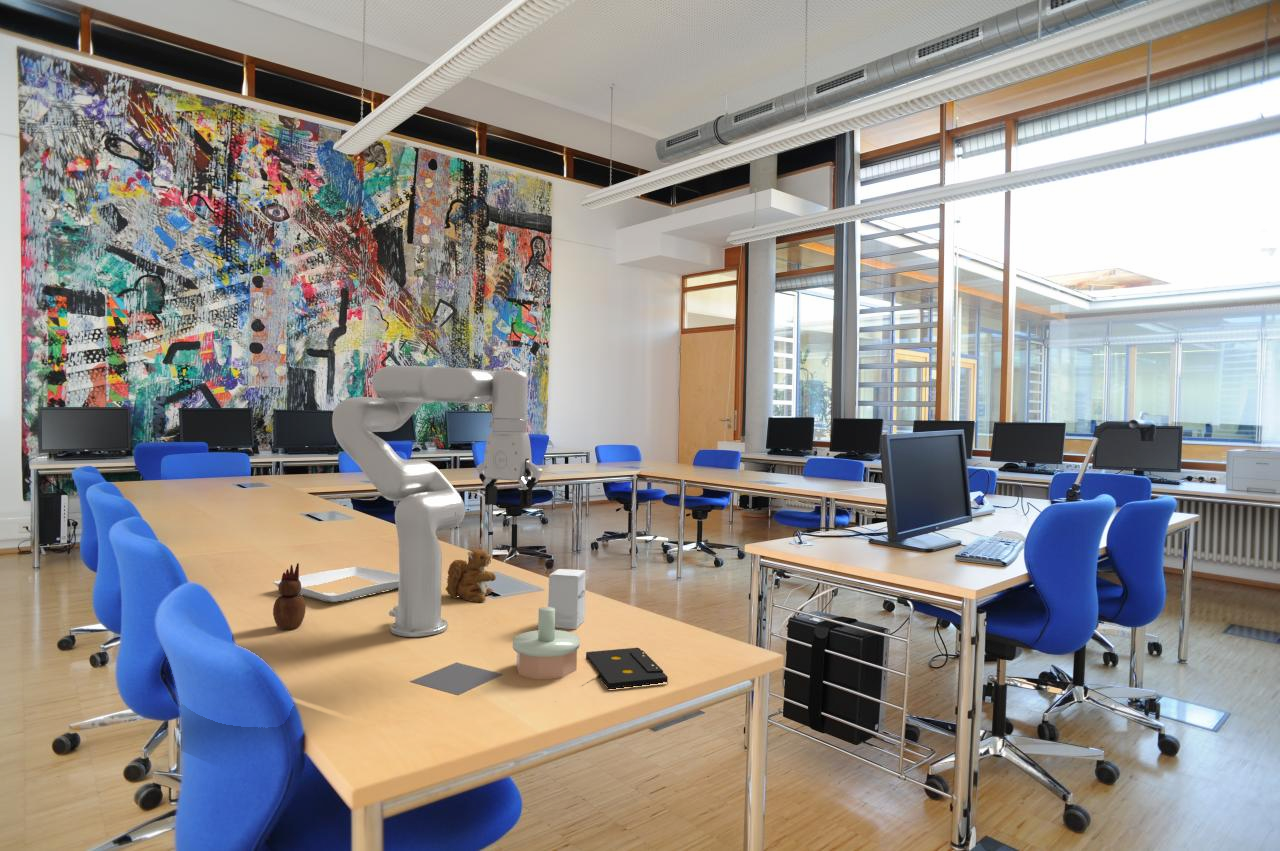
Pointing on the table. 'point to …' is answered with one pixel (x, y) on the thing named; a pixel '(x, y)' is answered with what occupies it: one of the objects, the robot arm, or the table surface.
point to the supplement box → (567, 597)
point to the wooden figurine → (289, 601)
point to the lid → (546, 638)
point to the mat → (456, 678)
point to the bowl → (546, 666)
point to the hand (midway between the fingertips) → (508, 506)
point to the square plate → (379, 576)
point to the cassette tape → (626, 668)
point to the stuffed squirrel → (470, 577)
